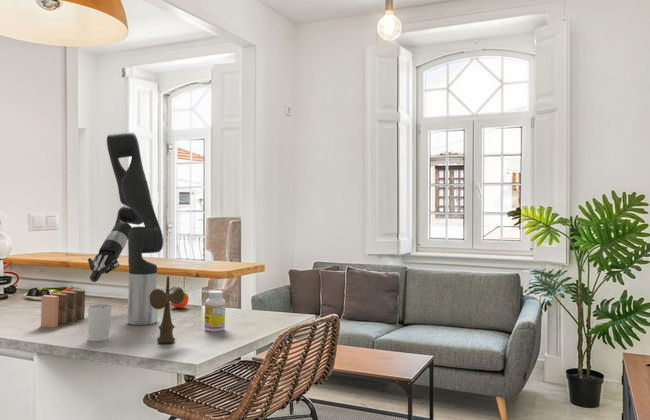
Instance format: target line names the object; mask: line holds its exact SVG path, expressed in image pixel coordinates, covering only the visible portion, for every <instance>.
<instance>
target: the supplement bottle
mask: <svg viewBox="0 0 650 420" xmlns="http://www.w3.org/2000/svg"><path fill="white" fill-rule="evenodd" d="M207 294H208V298H207V299H206V300H205V302H204V330H205V331H206V332H210V331H211V332H213V333H214V332H215V333H216V332H217V333H218V332H222V331H224V330H225V328H226V300H225V298H223V295H224V292H223V290H209V291H208V293H207Z"/></svg>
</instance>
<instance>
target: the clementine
mask: <svg viewBox="0 0 650 420" xmlns="http://www.w3.org/2000/svg"><path fill="white" fill-rule="evenodd" d="M183 292H184V299H183V301H182V303H180V304H174V303H171V302H170V305H172V307H174V308H176V309H183V308H185V307H186V306H187V305H188V303H189V299H190V297H189V294H188V293H187V292H186V291H184V290H183Z"/></svg>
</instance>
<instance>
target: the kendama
mask: <svg viewBox="0 0 650 420" xmlns="http://www.w3.org/2000/svg"><path fill="white" fill-rule="evenodd" d="M183 291H184V290H183V288H181V287H180V286H177V285H176V286H172V287H170V276H169V275H167V276H166V284H165V291H164V290H163V289H160V288H156V289H154V290H153V291H152V292H151V294H150V304H151V306H152V307H153V308H155V309H158V310H162V309H163V315H162V319H161V322H160V323H161V324H160V325H159V326H158V329H159V337H158V338H157V340H156V342H158V343H159V344H163V345H164V344H165V345H166V344H172V343H174V342H175V341H176V338H175V337H174V335H173V333H174V331H173V330H174V329H175V325H174V324H173V322H172V316H171V307H170V305H171V303H174V304H180V303H182V301H183V299H184V292H185V291H184V292H183Z"/></svg>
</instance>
